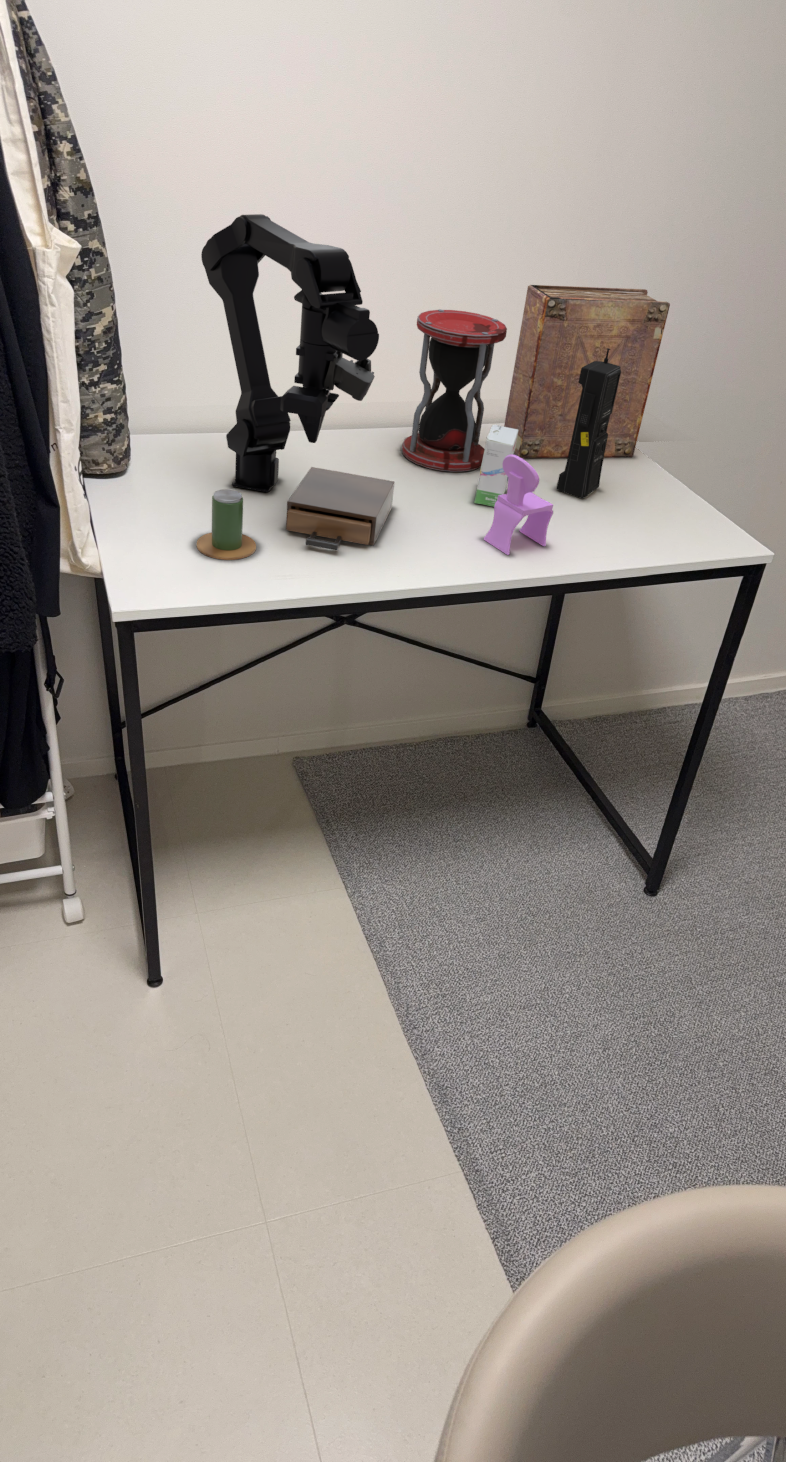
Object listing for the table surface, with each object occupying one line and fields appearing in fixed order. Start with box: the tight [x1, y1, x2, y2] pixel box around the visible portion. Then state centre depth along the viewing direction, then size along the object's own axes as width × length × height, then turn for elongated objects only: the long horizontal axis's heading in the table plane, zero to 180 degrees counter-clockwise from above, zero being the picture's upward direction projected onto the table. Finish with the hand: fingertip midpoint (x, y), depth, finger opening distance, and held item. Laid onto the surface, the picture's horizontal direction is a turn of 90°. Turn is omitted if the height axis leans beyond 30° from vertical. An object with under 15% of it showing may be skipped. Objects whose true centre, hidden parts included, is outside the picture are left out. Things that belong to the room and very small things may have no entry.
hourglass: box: [401, 308, 508, 473], centre depth 193 cm, size 16×16×25 cm
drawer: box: [286, 507, 372, 551], centre depth 168 cm, size 18×13×3 cm
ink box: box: [473, 424, 519, 508], centre depth 183 cm, size 9×5×12 cm, turn 168°
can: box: [211, 488, 244, 550], centre depth 157 cm, size 5×5×8 cm
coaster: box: [196, 532, 257, 561], centre depth 160 cm, size 9×9×1 cm
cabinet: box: [285, 466, 395, 546], centre depth 171 cm, size 15×14×5 cm
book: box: [503, 284, 671, 459], centre depth 202 cm, size 25×9×30 cm, turn 107°
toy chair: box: [483, 454, 554, 556], centre depth 168 cm, size 8×9×15 cm
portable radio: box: [556, 348, 621, 500], centre depth 186 cm, size 8×6×25 cm
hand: (312, 441), depth 164 cm, fingers closed
